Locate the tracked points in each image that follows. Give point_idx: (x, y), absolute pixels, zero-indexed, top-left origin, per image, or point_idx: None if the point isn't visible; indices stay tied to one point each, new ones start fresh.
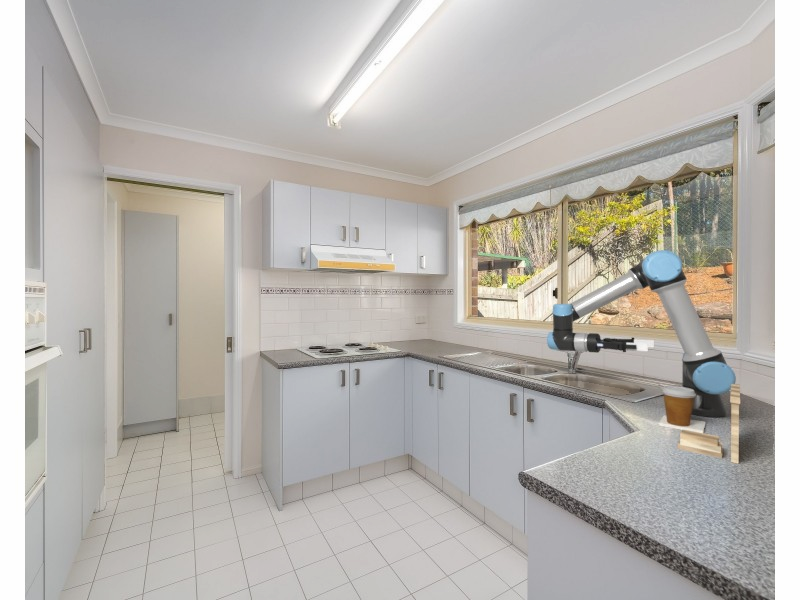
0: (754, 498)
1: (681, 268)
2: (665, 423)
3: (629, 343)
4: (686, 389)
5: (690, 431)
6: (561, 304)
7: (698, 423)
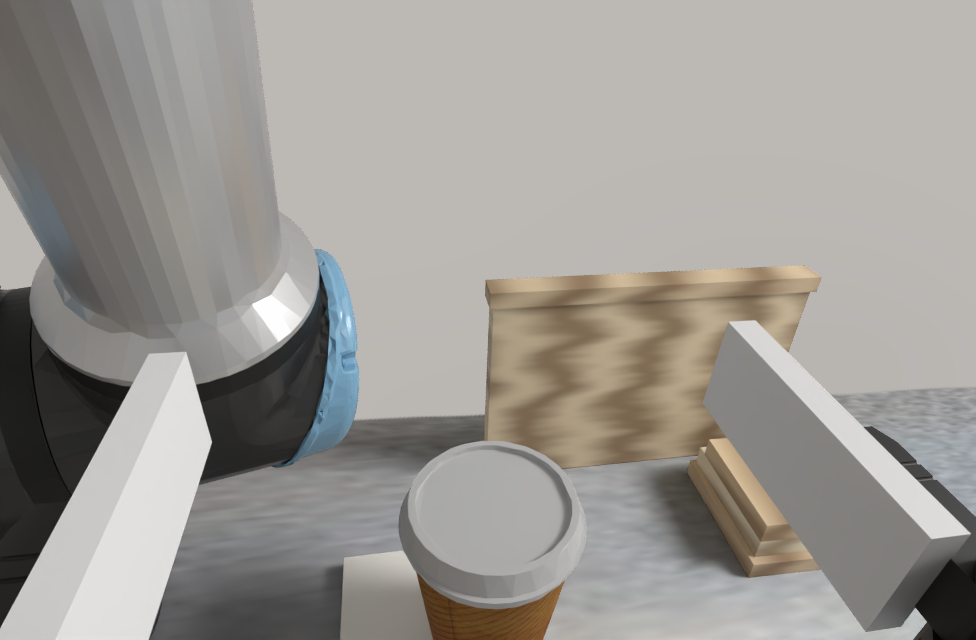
0: (925, 402)
1: None
2: None
3: (916, 497)
4: (442, 479)
5: (759, 502)
6: None
7: (401, 572)
